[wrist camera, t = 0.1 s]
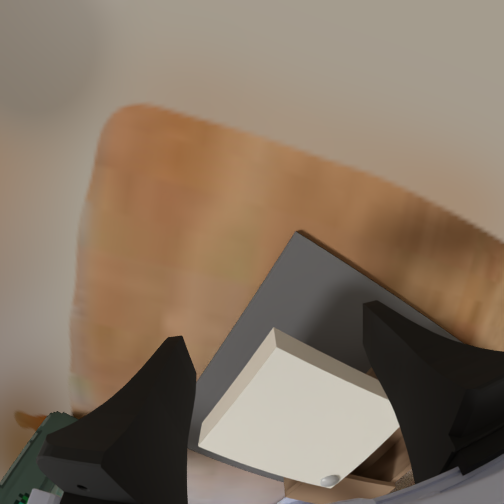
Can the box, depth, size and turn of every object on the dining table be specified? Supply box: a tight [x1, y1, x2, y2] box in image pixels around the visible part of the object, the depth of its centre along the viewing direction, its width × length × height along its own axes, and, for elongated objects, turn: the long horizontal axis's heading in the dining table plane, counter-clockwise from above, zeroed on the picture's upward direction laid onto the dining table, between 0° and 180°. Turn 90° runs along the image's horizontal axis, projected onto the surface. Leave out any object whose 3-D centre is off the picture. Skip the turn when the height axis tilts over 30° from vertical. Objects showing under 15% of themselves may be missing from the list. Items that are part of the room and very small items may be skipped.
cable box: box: [283, 367, 412, 504], centre depth 23 cm, size 16×10×5 cm, turn 149°
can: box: [0, 411, 78, 504], centre depth 19 cm, size 6×6×15 cm
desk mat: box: [187, 231, 464, 482], centre depth 25 cm, size 22×22×1 cm
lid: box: [198, 327, 400, 488], centre depth 18 cm, size 11×9×2 cm
